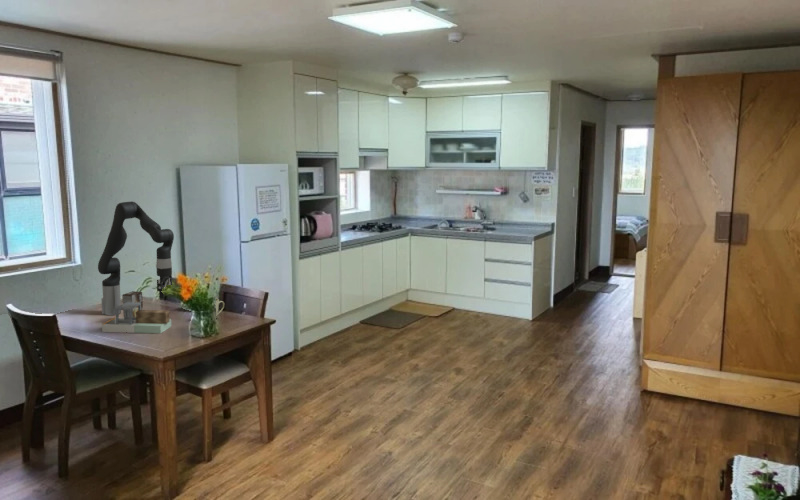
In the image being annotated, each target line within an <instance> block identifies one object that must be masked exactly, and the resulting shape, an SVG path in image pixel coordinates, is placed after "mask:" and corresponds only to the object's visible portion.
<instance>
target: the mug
mask: <svg viewBox="0 0 800 500" xmlns="http://www.w3.org/2000/svg"><path fill="white" fill-rule="evenodd" d="M215 298H216V297H215ZM220 303H222V307H221V309H220V310H219V305H220ZM215 305H216V316H217V317H218V315H219V314H220V313H221V312H223V309H224V308H225V302H224V301H222V300H220V299H219V298H216V303H215Z"/></svg>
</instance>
